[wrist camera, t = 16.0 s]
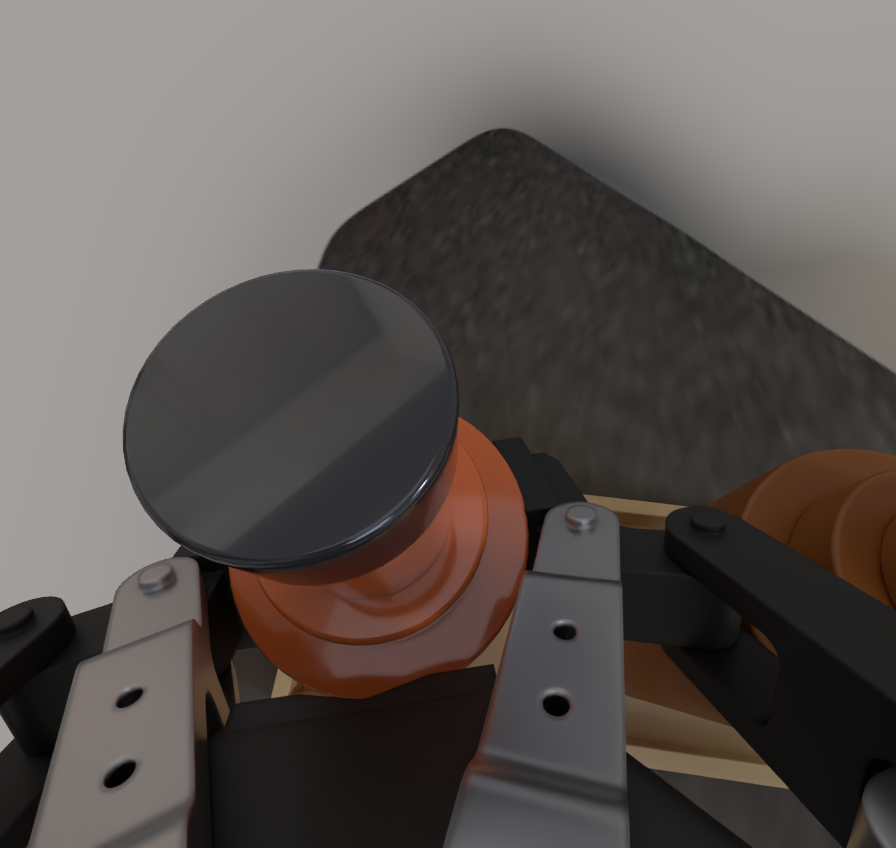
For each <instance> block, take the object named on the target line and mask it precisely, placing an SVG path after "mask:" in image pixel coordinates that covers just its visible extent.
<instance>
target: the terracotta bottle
mask: <svg viewBox="0 0 896 848" xmlns="http://www.w3.org/2000/svg"><path fill="white" fill-rule="evenodd" d="M123 452H124V458H125V464H126V470H127V472H128V475H129V478H130V481H131V484H132V487H133V489H134V492H135V494H136V496H137V497H138V499H139V501H140V503H141V504H142V506H143V508H144V510H145V511H146V512H147V514H148V515H149V516H150V517H151V519H152V520H153V521H154V522H155V524H156V525H157V526H158V527H159V528H160V529H161V530H162V531H163V532H165V533H166V534H167V535H168V536H169V537H170V538H171V539H173V540H174V541H175V542H177V543H179V544H180V545H182V546H183V547H185V548H186V549H188V550H190V551H191V552H193V553H195V554H198V555H200V556H202V557H205V558H207V559H210V560H212V561H214V562H217V563H220V564H223V565H226V566H229V576H230V585H231V589H232V593H233V597H234V601H235V605H236V608H237V610H238V613H239V615H240V618H241V620H242V623H243V625H244V626H245V628H246V630H247V632H248V633H249V635H250V637H251V638H252V640H253V642H254V643H255V644H256V645H257V647H258V648H259V649H260V650H261V652H262V653H263V654H264V655H265V657H266V658H267V659H268V660H269V661H270V662H272V663H273V664H274V665H275V666H276V667H277V668H278V669H279V670H280V671H282V672H283V673H284V674H286V675H287V676H289V677H290V678H292V679H293V680H295V681H296V682H298V683H299V684H301V685H303V686H306V687H308V688H310V689H312V690H314V691H317V692H319V693H322V694H325V695H329V696H332V697H341V698H353V699H363V698H368V697H371V696H374V695H376V694H379V693H382V692H384V691H387V690H389V689H392V688H395V687H397V686H400V685H402V684H405V683H408V682H410V681H413V680H415V679H418V678H421V677H423V676H426V675H428V674H431V673H438V672H444V671H450V670H457V669H463V668H466V667H467V666H469V665H470V664H471V663H472V662H473V661H474V660H475V659H476V658H477V657H478V656H480V655H481V654H482V653H483V652H484V651H485V650H486V649H487V647H488V646H489V645H490V644H491V642H492V641H493V640H494V639H495V638H496V636H497V635H498V634H499V632H500V631H501V629H502V628H503V626H504V624H505V623H506V621H507V620H508V618H509V616H510V615H511V612H512V610H513V608H514V606H515V602H516V598H517V594H518V591H519V587H520V583H521V579H522V575H523V573H524V571H525V570H526V567H527V561H528V554H529V529H528V519H527V516H526V513H525V508H524V507H525V504H524V500H523V496H522V494H521V491H520V488H519V486H518V483H517V480H516V478H515V476H514V475H513V473H512V471H511V469H510V467H509V465H508V463H507V462H506V461H505V459H504V458H503V456H502V455H501V454H500V452H499V451H498V449H497V448H496V447H495V446H494V445H493V444H492V443H491V442H490V441H489V440H488V439H487V437H486V436H485V435H483V434H482V433H481V432H480V431H479V430H477V429H476V428H475V427H474V426H472V425H471V424H470V423H468V422H466V421H465V420H463V419H462V418H460V417H459V398H458V382H457V377H456V372H455V367H454V364H453V361H452V358H451V356H450V353H449V350H448V348H447V346H446V344H445V342H444V341H443V339H442V337H441V335H440V333H439V332H438V331H437V329H436V328H435V327H434V325H433V324H432V323H431V321H430V320H429V319H428V318H427V317H426V316H425V315H424V314H423V313H422V312H421V311H420V310H419V309H418V308H417V307H416V306H415V305H414V304H413V303H412V302H410V301H409V300H408V299H406V298H405V297H404V296H403V295H401V294H400V293H398V292H396V291H394V290H393V289H391V288H389V287H388V286H386V285H383V284H381V283H379V282H376V281H374V280H372V279H369V278H366V277H362V276H359V275H355V274H352V273H346V272H340V271H335V270H320V269H312V270H311V269H309V270H293V271H285V272H278V273H274V274H269V275H265V276H261V277H258V278H255V279H252V280H249V281H246V282H243V283H240V284H238V285H236V286H233V287H231V288H229V289H227V290H225V291H223V292H221V293H219V294H217V295H216V296H214V297H212V298H210V299H209V300H207V301H205V302H204V303H202V304H201V305H200V306H198V307H197V308H195V309H194V310H192V311H191V312H190V313H188V314H187V315H186V316H185V317H184V318H183V319H182V320H180V321H179V322H178V323H177V324H176V325H175V326H174V327H173V328H172V329H171V330H170V331H169V332H168V333H167V334H166V335H165V336H164V337H163V339H161V341H160V342H159V343H158V345H157V346H156V347H155V349H154V350H153V351H152V353H151V354H150V355H149V357H148V358H147V360H146V362H145V364H144V365H143V367H142V369H141V371H140V372H139V374H138V376H137V379H136V381H135V383H134V386H133V388H132V390H131V393H130V397H129V400H128V404H127V407H126V411H125V418H124V426H123Z"/></svg>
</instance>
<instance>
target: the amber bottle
mask: <svg viewBox="0 0 896 848" xmlns="http://www.w3.org/2000/svg"><path fill="white" fill-rule="evenodd" d="M705 507H710V508H716V509H720V510H723V511H726V512H729V513H731V514H734V515H736V516H737V517H739V518H741V519H743V520H744V521H746V522H748V523H749V524H751V525H753V526H754V527H756V528H758V529H759V530H761V531H763V532H765V533H766V534H768V535H770V536H771V537H773V538H775V539H776V540H778V541H780V542H781V543H783V544H785V545H786V546H788V547H790V548H791V549H793V550H795V551H796V552H798V553H800V554H801V555H803V556H805V557H807V558H808V559H810V560H812V561H813V562H815V563H817V564H818V565H820V566H822V567H823V568H825V569H827V570H828V571H830V572H832V573H833V574H835V575H837V576H838V577H840V578H842V579H843V580H845V581H847V582H849V583H850V584H852V585H854V586H855V587H857V588H859V589H860V590H862V591H864V592H865V593H867V594H869V595H870V596H872V597H874V598H875V599H877V600H879V601H880V602H882V603H884V604H885V605H887V606H889V607H891V608H892V609H894V610H896V456H894V455H891V454H886V453H881V452H876V451H871V450H859V449H829V450H823V451H817V452H812V453H808V454H805V455H802V456H799V457H796V458H794V459H792V460H790V461H788V462H786V463H784V464H782V465H780V466H778V467H776V468H774V469H773V470H771V471H769V472H767V473H765V474H763V475H762V476H760V477H758V478H756V479H754V480H752V481H751V482H749V483H747V484H745V485H743V486H741V487H740V488H738V489H736V490H734V491H732V492H731V493H729V494H727V495H725V496H723V497H721V498H720V499H718V500H716V501H714V502H712V503H710V504H709V505H707V506H705ZM663 530H665V529H663ZM740 626H742V627H743V628H744V629H745V630H746V631H748V632H749V633H750V634H751V635H752V636H754V637H755V638H756V639H757V640H758V641H759V642H761V643H762V644H763V645H764V646H765V647H767V648H768V649H769V650H770V651H771V652H773V653H774V654H775V655H776V656H777V657H778V655H777V653H776V651H775V649H774V647H773V645H772V644H771V642H770V641H769V640H768V638H767V637H766V636H765V635H764V634H763V633H762V632H761V631H759V630H758V629H757V628H756V627H754V626H753V625H752V624H751V623H749V622H748V621H747V620H746V619H745V618H743V617H741V624H740ZM623 642H624V683H625V695H628V696H630V697H633V698H636V699H639V700H643V701H646V702H650V703H653V704H656V705H660V706H663V707H666V708H670V709H673V710H676V711H680V712H683V713H686V714H690V715H693V716H696V717H700V718H703V719H706V720H710V721H713V722H716V723H720V724H723V725H727V726H730V727H732V726H731V725H730V724H729V722H728V721H727V720H726V719H725V718H724V717H723V716H722V715H721V714H720V713H719V712H718V710H717V709H716V708H715V707H714V706H713V705H712V704H711V703H710V702H709V701H708V700H707V698H706V697H705V696H704V695H703V694H702V693H701V692H700V691H699V690H698V689H697V688H696V686H695V685H694V684H693V683H692V682H691V681H690V680H689V679H688V678H687V677H686V676H685V674H684V673H683V672H682V671H681V670H680V669H679V668H678V667H677V666H676V665H675V664H674V662H673V661H672V660H671V659H670V658H669V657H668V656H667V655H666V654H665V652H664V651H663V650H662V648H661V646H660V644H653V643H644V642H636V641H627V640H623Z"/></svg>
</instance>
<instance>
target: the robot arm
mask: <svg viewBox="0 0 896 848" xmlns="http://www.w3.org/2000/svg"><path fill="white" fill-rule="evenodd" d="M492 444H493V445H494V446H495V447H496V448H497V449H498V451H499V452H500V454H501V455H502V456H503V458H504V459H505V461H506V462H507V463H508V465H509V467H510V469H511V471H512V473H513V475H514V476H515V478H516V480H517V483H518V486H519V488H520V491H521V494H522V496H523V500H524V504H525V507H524V508H525V513H526V516H527V519H528V529H529V554H528V561H527V567H526V570H525V571H524V573H523V575H522V579H521V583H520V587H519V591H518V594H517V598H516V602H515V606H514V610H513V614H512V618H511V622H510V626H509V629H508V633H507V637H506V641H505V645H504V649H503V653H502V657H501V661H500V664H499V668H498V672H497V676H496V671H495V667H494V664H489V665H483V666H476V667H470V668H463V669H457V670H450V671H444V672H438V673H431V674H428V675H426V676H423V677H421V678H418V679H415V680H413V681H410V682H408V683H405V684H402V685H400V686H397V687H395V688H392V689H389V690H387V691H384V692H382V693H379V694H376V695H374V696H371V697H368V698H363V699H353V698H341V697H329V696H316V695H304V694H295V695H288V696H282V697H275V698H269V699H262V700H256V701H249V702H243V703H240V698H239V691H238V683H237V675H236V671H235V668H234V665H233V662H232V658H233V656H234V653H235V651H236V650H240V649H246V648H253V647H257V645H256V644H255V643H254V642H253V640H252V638H251V637H250V635H249V633H248V632H247V630H246V628H245V626H244V625H243V623H242V620H241V618H240V615H239V613H238V610H237V608H236V605H235V601H234V597H233V593H232V589H231V585H230V576H229V566H226V565H223V564H220V563H217V562H214V561H212V560H210V559H207V558H205V557H202V556H200V555H198V554H195V553H193V552H191V551H190V550H188V549H186V548H185V547H183V546H182V545H181V546H180V548H179V549H178V551H177V552H176V553H175V555H174V556H173V557H172V558H169V559H165V560H162V561H158V562H156V563H153V564H151V565H149V566H146V567H144V568H142V569H140V570H139V571H137V572H136V573H134V574H132V575H131V576H130V577H128V578H127V579H126V580H125V581H124V582H123V583H122V584H121V585H120V586H119V587H118V589H117V590H116V593H115V596H114V600H113V603H111V604H108V605H105V606H102V607H98V608H96V609H92V610H89V611H86V612H83V613H80V614H77V615H74V616H70V614H69V611H68V609H67V607H66V605H65V603H64V602H63V600H62V599H61V598H58V597H51V596H50V597H41V598H36V599H32V600H28V601H25V602H22V603H20V604H17V605H15V606H12V607H10V608H8V609H6V610H4V611H2V612H0V715H1V716H2V718H3V720H4V721H5V723H6V725H7V726H8V728H9V729H10V731H11V733H12V734H13V736H14V739H13V740H12V741H11V742H10V743H9V744H8V746H7V747H6V748H5V749H4V750H3V751H2V752H1V753H0V848H25V847H26V846H27V845H28V848H752V847H751V846H750V845H748V844H747V843H746V842H745V841H743V840H742V839H741V838H739V837H738V836H737V835H735V834H734V833H733V832H731V831H730V830H729V829H727V828H726V827H725V826H724V825H722V824H721V823H720V822H718V821H717V820H716V819H714V818H713V817H712V816H710V815H709V814H708V813H706V812H705V811H704V810H702V809H701V808H700V807H699V806H697V805H696V804H695V803H693V802H692V801H691V800H689V799H688V798H687V797H685V796H684V795H683V794H681V793H680V792H679V791H678V790H676V789H675V788H674V787H672V786H671V785H670V784H668V783H667V782H666V781H664V780H663V779H662V778H660V777H659V776H658V775H657V774H655V773H654V772H653V771H651V770H650V769H649V768H647V767H646V766H645V765H643V764H642V763H641V762H639V761H638V760H637V759H635V758H634V757H633V756H632V755H630V754H629V753H628V752H626V725H625V683H624V642H623V640H627V641H636V642H644V643H653V644H660V646H661V648H662V650H663V651H664V652H665V654H666V655H667V656H668V657H669V658H670V659H671V660H672V661H673V662H674V664H675V665H676V666H677V667H678V668H679V669H680V670H681V671H682V672H683V673H684V674H685V676H686V677H687V678H688V679H689V680H690V681H691V682H692V683H693V684H694V685H695V686H696V688H697V689H698V690H699V691H700V692H701V693H702V694H703V695H704V696H705V697H706V698H707V700H708V701H709V702H710V703H711V704H712V705H713V706H714V707H715V708H716V709H717V710H718V712H719V713H720V714H721V715H722V716H723V717H724V718H725V719H726V720H727V721H728V722H729V724H730V725H731V726H732V727H733V728H734V729H735V730H736V731H737V732H738V733H739V734H740V736H741V737H742V738H743V739H744V740H745V741H746V742H747V743H748V744H749V745H750V746H751V748H752V749H753V750H754V751H755V752H756V753H757V754H758V755H759V756H760V757H761V758H762V760H763V761H764V762H765V763H766V764H767V765H768V766H769V767H770V768H771V769H772V770H773V772H774V773H775V774H776V775H777V776H778V777H779V778H780V779H781V780H782V781H783V782H784V784H785V785H786V786H787V787H788V788H789V789H790V790H791V791H792V792H793V793H794V794H795V796H796V797H797V798H798V799H799V800H800V801H801V802H802V803H803V804H804V805H805V806H806V808H807V809H808V810H809V811H810V812H811V813H812V814H813V815H814V816H815V817H816V818H817V820H818V821H819V822H820V823H821V824H822V825H823V826H824V827H825V828H826V829H827V830H828V832H829V833H830V834H831V835H832V836H833V837H834V838H835V839H836V840H837V841H838V842H839V844H840V845H841V846H842V847H843V848H896V610H894V609H892V608H891V607H889V606H887V605H885V604H884V603H882V602H880V601H879V600H877V599H875V598H874V597H872V596H870V595H869V594H867V593H865V592H864V591H862V590H860V589H859V588H857V587H855V586H854V585H852V584H850V583H849V582H847V581H845V580H843V579H842V578H840V577H838V576H837V575H835V574H833V573H832V572H830V571H828V570H827V569H825V568H823V567H822V566H820V565H818V564H817V563H815V562H813V561H812V560H810V559H808V558H807V557H805V556H803V555H801V554H800V553H798V552H796V551H795V550H793V549H791V548H790V547H788V546H786V545H785V544H783V543H781V542H780V541H778V540H776V539H775V538H773V537H771V536H770V535H768V534H766V533H765V532H763V531H761V530H759V529H758V528H756V527H754V526H753V525H751V524H749V523H748V522H746V521H744V520H743V519H741V518H739V517H737V516H736V515H734V514H731V513H729V512H726V511H723V510H720V509H716V508H710V507H701V506H691V507H684V508H679V509H676V510H674V511H672V512H671V513H670V514H668V516H667V517H666V521H665V530H654V529H637V528H629V527H624V526H620V525H619V519H618V517H617V516H616V514H615V513H614V512H612V511H611V510H610V509H608V508H606V507H604V506H601V505H598V504H595V503H590V502H588V501H587V500H586V498H585V497H584V496H583V494H582V493H581V491H580V490H579V489H578V487H577V486H576V484H575V483H574V482H573V480H571V478H570V476H569V475H568V473H567V472H565V469H564V468H563V466H562V465H561V464H560V462H559V461H558V460H557V459H555V458H553V457H551V456H549V455H547V454H545V453H538V454H531V453H530V451H529V450H528V448H527V446H526V445H525V443H524V441H523V440H522V438H521V437H519V438H512V439H504V440H497V441H493V442H492ZM741 617H743V618H745V619H746V620H747V621H748V622H749V623H751V624H752V625H753V626H754V627H756V628H757V629H758V630H759V631H761V632H762V633H763V634H764V635H765V636H766V637H767V638H768V640H769V641H770V642H771V644H772V645H773V647H774V649H775V651H776V653H777V655H778V657H777V656H776V655H775V654H774V653H773V652H771V651H770V650H769V649H768V648H767V647H765V646H764V645H763V644H762V643H761V642H759V641H758V640H757V639H756V638H755V637H754V636H752V635H751V634H750V633H749V632H748V631H746V630H745V629H744V628H743V627H742V626H740V624H741ZM28 843H29V844H28Z"/></svg>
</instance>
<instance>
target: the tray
mask: <svg viewBox="0 0 896 848" xmlns="http://www.w3.org/2000/svg"><path fill="white" fill-rule="evenodd" d="M583 496H584V497H585V498H586V500H587V501H588V502H590V503H595V504H598V505H601V506H604V507H606V508H608V509H610V510H611V511H612V512H614V513H615V514H616V516H617V517H618V519H619V525H620V526H624V527H629V528H637V529H654V530H663V529H665V521H666V517H667V516H668V514H670V513H671V512H672V511H674V510H676V509H679V508H684V507H687V506H679V505H670V504H662V503H653V502H645V501H636V500H627V499H619V498H610V497H602V496H593V495H584V494H583ZM513 610H514V608H513ZM513 610H512V612H511V615H510V616H509V618H508V620H507V621H506V623H505V624H504V626H503V628H502V629H501V631H500V632H499V634H498V635H497V636H496V638H495V639H494V640H493V641H492V642H491V644H490V645H489V646H488V647H487V649H486V650H485V651H484V652H483V653H482V654H481V655H480V656H478V657H477V658H476V659H475V660H474V661H473V662H472V663H471V664H470V665H469V666H467V667H466V668H470V667H476V666H483V665H489V664H494V667H495V671H496V676H497V672H498V668H499V664H500V661H501V657H502V653H503V649H504V645H505V641H506V637H507V633H508V629H509V626H510V622H511V618H512V614H513ZM295 694H304V695H316V696H329V695H325V694H322V693H319V692H317V691H314V690H312V689H310V688H308V687H306V686H303V685H301V684H299V683H298V682H296V681H295V680H293V679H292V678H290V677H289V676H287V675H286V674H284V673H283V672H282V671H280V670H279V669H278V671H277V675H276V679H275V683H274V687H273V691H272V695H271V698H275V697H282V696H288V695H295ZM329 697H332V696H329ZM625 725H626V752H628V753H629V754H630V755H632V756H633V757H634V758H635V759H637V760H638V761H639V762H641V763H642V764H643V765H645V766H646V767H647V768H651V769H658V770H665V771H672V772H678V773H685V774H692V775H698V776H705V777H712V778H718V779H725V780H732V781H738V782H745V783H752V784H759V785H765V786H772V787H779V788H785V789H789V788H788V787H787V786H786V785H785V784H784V782H783V781H782V780H781V779H780V778H779V777H778V776H777V775H776V774H775V773H774V772H773V770H772V769H771V768H770V767H769V766H768V765H767V764H766V763H765V762H764V761H763V760H762V758H761V757H760V756H759V755H758V754H757V753H756V752H755V751H754V750H753V749H752V748H751V746H750V745H749V744H748V743H747V742H746V741H745V740H744V739H743V738H742V737H741V736H740V734H739V733H738V732H737V731H736V730H735V729H734V728H733V727H730V726H727V725H723V724H720V723H716V722H713V721H710V720H706V719H703V718H700V717H696V716H693V715H690V714H686V713H683V712H680V711H676V710H673V709H670V708H666V707H663V706H660V705H656V704H653V703H650V702H646V701H643V700H639V699H636V698H633V697H630V696H628V695H625Z"/></svg>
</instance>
